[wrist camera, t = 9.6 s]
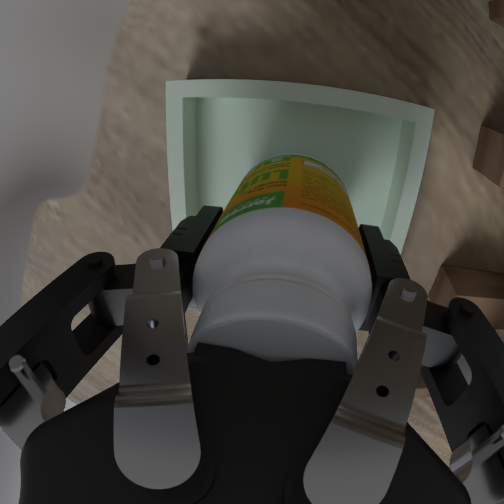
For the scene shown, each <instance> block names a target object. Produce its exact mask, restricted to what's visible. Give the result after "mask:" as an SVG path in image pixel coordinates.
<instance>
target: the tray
mask: <svg viewBox="0 0 504 504" xmlns="http://www.w3.org/2000/svg"><path fill="white" fill-rule="evenodd" d="M434 111H435V109H432V108H428V107H425V106H422V105H418V104H415V103H411V102H407V101H403V100H399V99H394V98H390V97H385V96H381V95H376V94H371V93H366V92H360V91H355V90H349V89H343V88H336V87H329V86H322V85H314V84H305V83H295V82H284V81H270V80H251V79H187V80H173V81H166V132H167V158H168V177H169V192H170V206H171V218H172V230H174V229H176V227H177V225H178V224H179V223H180V221H182V220H183V219H185V218H187V217H189V216H196V215H197V214H198V212H199V211H200V210H201V208H202V207H203V206H204V205H207V206H218V207H222V208H223V211H224V210H225V208H226V206H227V204H228V203H229V201H230V199H231V198H232V196H233V194H234V193H235V191H236V189H237V188H238V186H239V184H240V183H241V181H242V180H243V178H244V177H245V176H246V174H247V173H248V172H249V171H250V170H251V169H252V168H253V167H254V166H255V165H257V164H258V163H259V162H261V161H263V160H264V159H266V158H269V157H271V156H274V155H278V154H283V153H299V154H305V155H308V156H311V157H314V158H316V159H319V160H321V161H322V162H324V163H325V164H327V165H328V166H330V167H331V168H332V169H333V170H334V171H335V172H336V173H337V175H338V176H339V177H340V179H341V180H342V182H343V184H344V186H345V188H346V190H347V192H348V195H349V198H350V201H351V205H352V208H353V212H354V215H355V218H356V221H357V225H358V228H359V226H360V224H366V225H373V226H378V227H379V228H380V231H381V233H382V236H383V238H384V239H386V240H390V241H391V242H392V243H393V244H394V245H395V246H396V247H397V248H398V251H399V253H400V255H401V252H402V249H403V245H404V242H405V239H406V236H407V232H408V229H409V225H410V222H411V218H412V215H413V211H414V207H415V204H416V200H417V196H418V192H419V188H420V184H421V179H422V175H423V170H424V166H425V161H426V156H427V151H428V146H429V141H430V135H431V130H432V124H433V117H434Z"/></svg>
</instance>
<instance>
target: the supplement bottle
mask: <svg viewBox="0 0 504 504" xmlns="http://www.w3.org/2000/svg"><path fill="white" fill-rule="evenodd" d="M193 295H194V299H195V303H196V307H197V309H198V312H199V314H200V316H199V319H198V321H197V324H196V326H195V329H194V331H193V334H192V336H191V339H190V342H189V345H188V351H187V353H193V352H194V351H195V349H196V346H197V343H198V342H200V343H206V344H211V345H217V346H223V347H229V348H234V349H237V350H239V351H242V352H245V353H247V354H250V355H253V356H255V357H258V358H261V359H264V360H267V361H271V362H277V361H290V360H301V359H319V360H330V361H342V362H346V368H347V373H348V374H351V375H353V374H354V372H355V369H356V367H357V365H358V362H357V340H356V332H357V331H358V330H359V329H360V327H361V325H362V324H363V322H364V320H365V318H366V316H367V314H368V311H369V308H370V304H371V298H372V281H371V274H370V269H369V264H368V260H367V256H366V253H365V249H364V246H363V242H362V239H361V235H360V232H359V228H358V225H357V221H356V218H355V215H354V212H353V208H352V205H351V201H350V198H349V195H348V192H347V190H346V188H345V186H344V184H343V182H342V180H341V179H340V177H339V176H338V175H337V173H336V172H335V171H334V170H333V169H332V168H331V167H330V166H328V165H327V164H325V163H324V162H322V161H321V160H319V159H316V158H314V157H311V156H308V155H305V154H299V153H283V154H278V155H274V156H271V157H269V158H266V159H264V160H263V161H261V162H259V163H258V164H257V165H255V166H254V167H253V168H252V169H251V170H250V171H249V172H248V173H247V174H246V176H245V177H244V178H243V180H242V181H241V183H240V184H239V186H238V188H237V189H236V191H235V193H234V194H233V196H232V198H231V199H230V201H229V203H228V204H227V206H226V208H225V210H224V211H223V213H222V215H221V217H220V218H219V220H218V222H217V224H216V225H215V227H214V229H213V231H212V232H211V234H210V236H209V238H208V239H207V241H206V243H205V245H204V246H203V249H202V251H201V253H200V255H199V257H198V260H197V262H196V265H195V269H194V274H193Z"/></svg>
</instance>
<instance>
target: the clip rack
mask: <svg viewBox="0 0 504 504" xmlns="http://www.w3.org/2000/svg"><path fill="white" fill-rule="evenodd" d="M489 8H490V20H492V21H494V22H496V23H498V24H500V25H502V26H503V27H504V0H494V1H490V2H489ZM473 168H474V169H476V170H477V171H479V172H480V173H481V174H483V175H484V176H485V177H487V178H488V179H490V180H491V181H492V182H494V183H495V184H496V185H498V186H499V187H502V188H504V134H502V133H500V132H497V131H495V130H492V129H490V128H487V127H485V126H482V125H481V129H480V135H479V140H478V145H477V150H476V154H475V159H474V163H473ZM428 297H429V299H430V302H433V303H435V304H438V305H441V306H444V307H448V305H449V303H450V301H451V300H452V299H453V298H456V297H461V298H465V299H468V300H470V301H472V302H473V303H475V304H476V305H477V306H478V307H479V308H480V309H481V311H482V312H483V314H484V315H485V317H486V318H487V319H488V321H489V322H490V324H491V325H492V327H493V328H494V329H504V274H501V273H494V272H487V271H480V270H473V269H466V268H458V267H451V266H444V265H441V267H440V270H439V272H438V275H437V277H436V279H435V282H434V284H433V286H432V289H431V291H430V293H429V295H428ZM414 397H431V396H430V393H429V391H428V389H427V386H426V384H425V382H424V379H423V377H422V375H421V372H420V374H419V379H418V383H417V387H416V391H415V395H414Z"/></svg>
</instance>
